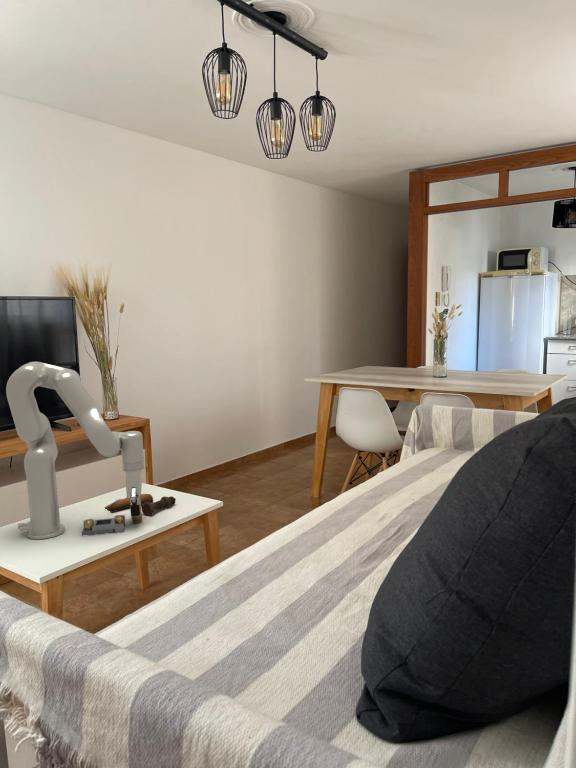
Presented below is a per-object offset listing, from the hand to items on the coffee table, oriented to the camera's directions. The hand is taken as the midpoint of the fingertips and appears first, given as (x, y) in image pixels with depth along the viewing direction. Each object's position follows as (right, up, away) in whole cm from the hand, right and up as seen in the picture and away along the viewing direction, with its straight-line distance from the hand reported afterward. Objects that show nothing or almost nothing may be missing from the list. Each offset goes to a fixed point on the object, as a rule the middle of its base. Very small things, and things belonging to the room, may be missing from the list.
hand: (136, 511), depth 214 cm
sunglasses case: (-8, -3, +20) cm, 22 cm away
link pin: (0, -4, 0) cm, 4 cm away
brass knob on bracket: (-10, -5, -6) cm, 13 cm away
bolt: (+6, -3, +14) cm, 15 cm away
